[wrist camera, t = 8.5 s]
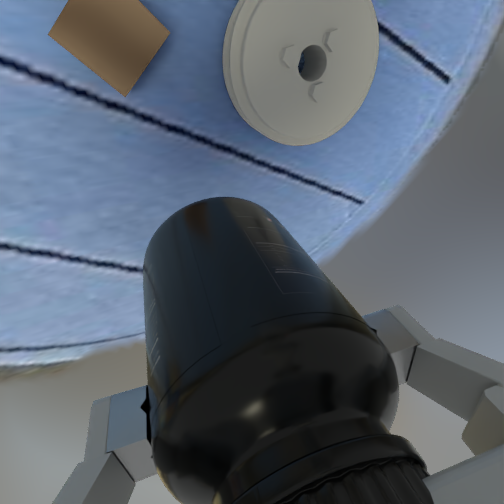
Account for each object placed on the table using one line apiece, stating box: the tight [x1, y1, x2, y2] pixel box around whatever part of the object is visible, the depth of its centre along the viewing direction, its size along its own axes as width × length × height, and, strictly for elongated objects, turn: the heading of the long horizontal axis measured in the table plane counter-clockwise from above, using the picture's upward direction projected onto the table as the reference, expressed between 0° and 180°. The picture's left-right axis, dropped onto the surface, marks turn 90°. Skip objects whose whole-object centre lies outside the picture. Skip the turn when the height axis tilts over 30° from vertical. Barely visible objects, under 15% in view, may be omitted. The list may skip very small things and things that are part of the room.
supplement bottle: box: [143, 197, 434, 504], centre depth 10 cm, size 7×7×12 cm
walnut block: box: [48, 0, 170, 97], centre depth 22 cm, size 5×5×5 cm
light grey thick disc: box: [222, 0, 379, 146], centre depth 26 cm, size 13×13×5 cm
